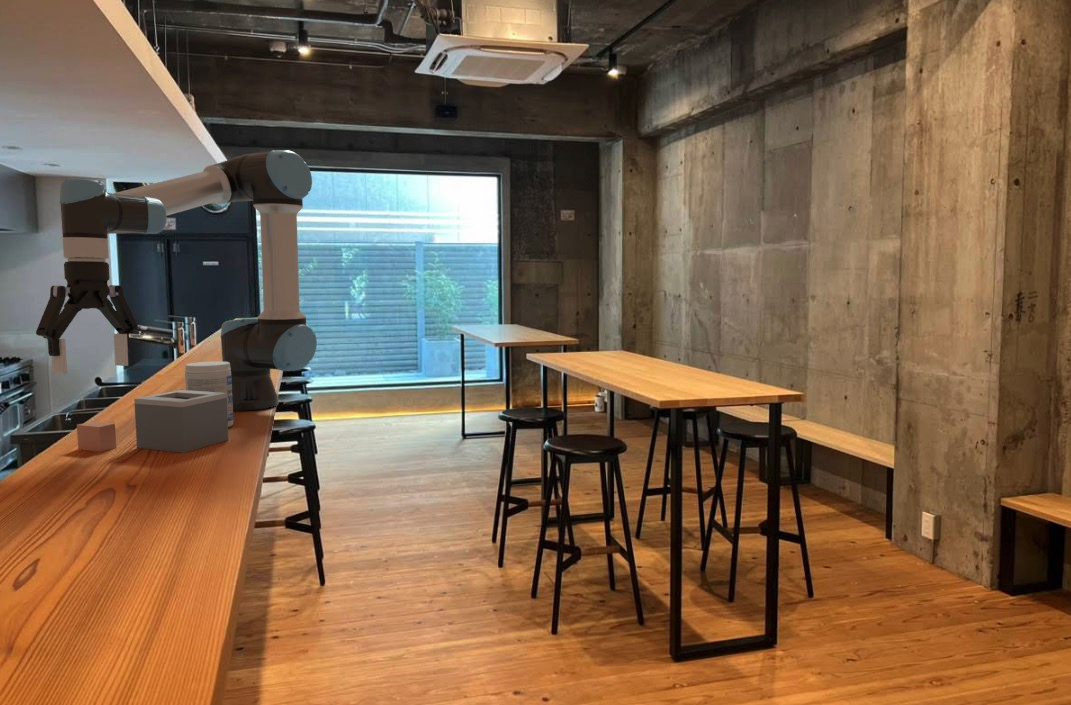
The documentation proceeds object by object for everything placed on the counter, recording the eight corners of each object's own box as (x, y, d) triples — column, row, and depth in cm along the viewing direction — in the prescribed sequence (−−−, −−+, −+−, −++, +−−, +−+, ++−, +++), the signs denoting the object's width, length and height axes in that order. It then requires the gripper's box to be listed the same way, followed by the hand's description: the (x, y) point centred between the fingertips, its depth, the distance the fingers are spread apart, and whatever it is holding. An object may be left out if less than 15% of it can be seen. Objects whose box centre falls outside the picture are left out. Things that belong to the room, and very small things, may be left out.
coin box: (183, 435, 159) (181, 389, 158) (228, 440, 155) (226, 392, 154) (136, 447, 148) (134, 398, 147) (184, 452, 144) (181, 402, 143)
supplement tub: (240, 427, 168) (237, 363, 166) (197, 433, 161) (193, 367, 160) (223, 421, 175) (221, 359, 173) (181, 427, 168) (178, 363, 167)
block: (78, 449, 147) (76, 424, 146) (94, 445, 150) (92, 421, 149) (101, 452, 145) (99, 427, 144) (116, 448, 148) (114, 423, 147)
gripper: (126, 262, 156) (131, 361, 158) (8, 258, 133) (15, 375, 135) (153, 262, 154) (158, 363, 156) (38, 258, 130) (45, 377, 133)
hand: (92, 369), depth 146 cm, fingers open, 13 cm apart
